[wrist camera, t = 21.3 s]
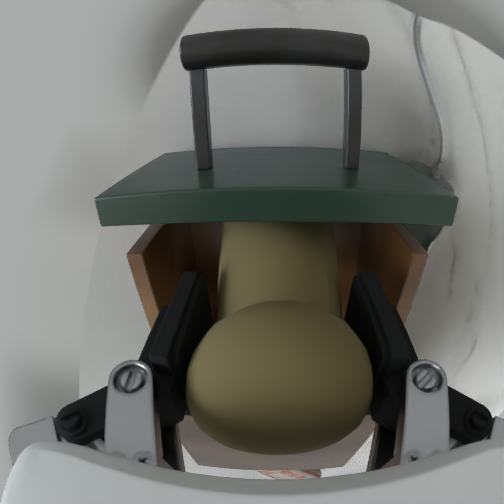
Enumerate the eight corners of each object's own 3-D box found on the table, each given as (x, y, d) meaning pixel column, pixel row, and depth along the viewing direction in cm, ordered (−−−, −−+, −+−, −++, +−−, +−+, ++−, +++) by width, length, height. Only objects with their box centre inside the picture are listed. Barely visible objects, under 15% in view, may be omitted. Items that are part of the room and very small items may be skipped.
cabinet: (181, 280, 22) (140, 382, 13) (369, 280, 20) (408, 383, 12) (210, 392, 30) (197, 465, 22) (335, 393, 29) (343, 466, 21)
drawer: (156, 62, 13) (75, 47, 6) (388, 60, 12) (468, 45, 5) (197, 337, 24) (177, 414, 17) (352, 337, 23) (369, 415, 16)
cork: (257, 294, 17) (242, 475, 8) (199, 215, 15) (108, 404, 5) (348, 254, 15) (410, 440, 6) (301, 159, 13) (374, 337, 4)
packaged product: (242, 472, 36) (296, 467, 33) (244, 449, 40) (296, 441, 37) (286, 488, 44) (330, 481, 41) (286, 469, 48) (329, 462, 45)
